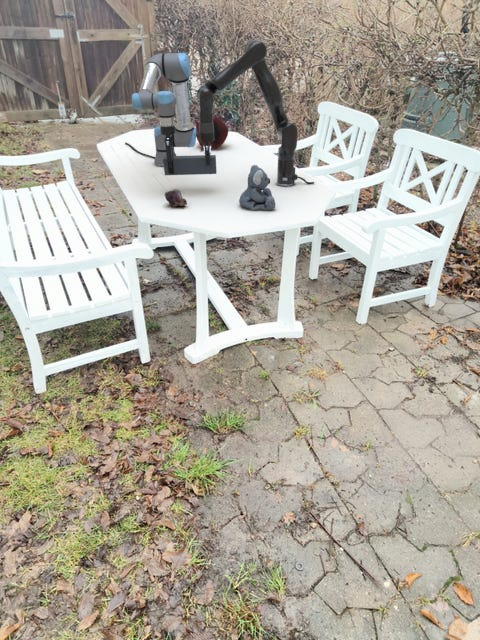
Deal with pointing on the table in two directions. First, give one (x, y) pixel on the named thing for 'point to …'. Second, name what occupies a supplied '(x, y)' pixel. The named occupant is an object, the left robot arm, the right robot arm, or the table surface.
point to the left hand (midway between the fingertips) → (171, 171)
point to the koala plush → (257, 191)
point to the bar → (191, 165)
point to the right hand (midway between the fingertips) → (208, 163)
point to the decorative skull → (219, 133)
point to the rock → (175, 198)
